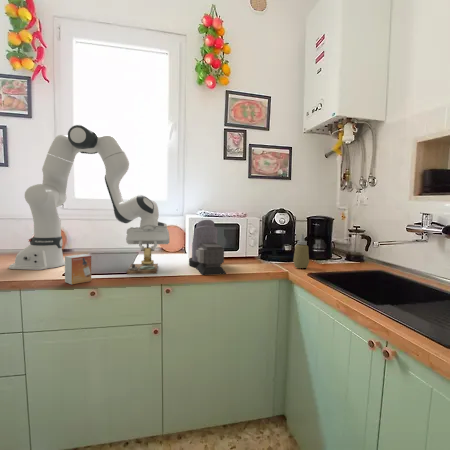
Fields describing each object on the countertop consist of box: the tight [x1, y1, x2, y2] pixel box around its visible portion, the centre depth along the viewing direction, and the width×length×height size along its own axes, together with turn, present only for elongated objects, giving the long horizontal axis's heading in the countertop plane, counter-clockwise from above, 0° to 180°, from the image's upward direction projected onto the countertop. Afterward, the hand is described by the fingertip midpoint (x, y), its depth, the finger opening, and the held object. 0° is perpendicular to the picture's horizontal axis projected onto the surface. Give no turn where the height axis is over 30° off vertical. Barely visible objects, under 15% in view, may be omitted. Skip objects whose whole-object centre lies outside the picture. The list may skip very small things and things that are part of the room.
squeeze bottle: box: [293, 233, 310, 269], centre depth 149 cm, size 8×8×18 cm
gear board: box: [126, 263, 159, 275], centre depth 135 cm, size 13×15×4 cm
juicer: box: [188, 219, 227, 276], centre depth 143 cm, size 30×16×24 cm, turn 18°
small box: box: [64, 253, 92, 285], centre depth 112 cm, size 8×6×10 cm
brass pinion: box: [140, 242, 155, 265], centre depth 133 cm, size 6×6×10 cm
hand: (147, 250), depth 133 cm, fingers closed on brass pinion, 3 cm apart
